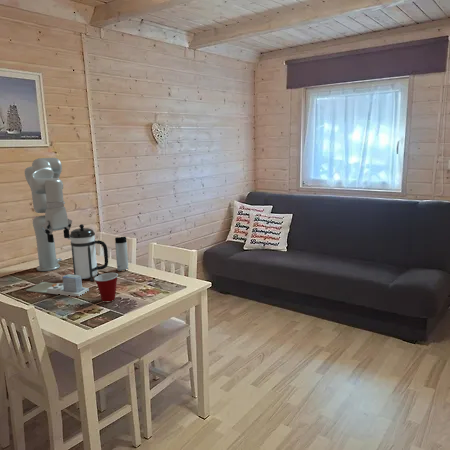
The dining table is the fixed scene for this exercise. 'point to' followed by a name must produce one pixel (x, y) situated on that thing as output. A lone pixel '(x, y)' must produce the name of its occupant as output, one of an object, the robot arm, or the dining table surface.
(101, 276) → the plastic cup
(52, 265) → the robot arm
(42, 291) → the sage mat
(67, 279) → the medicine box
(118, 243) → the travel mug
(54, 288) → the power strip dock
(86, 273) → the coffee press
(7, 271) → the dining table surface
